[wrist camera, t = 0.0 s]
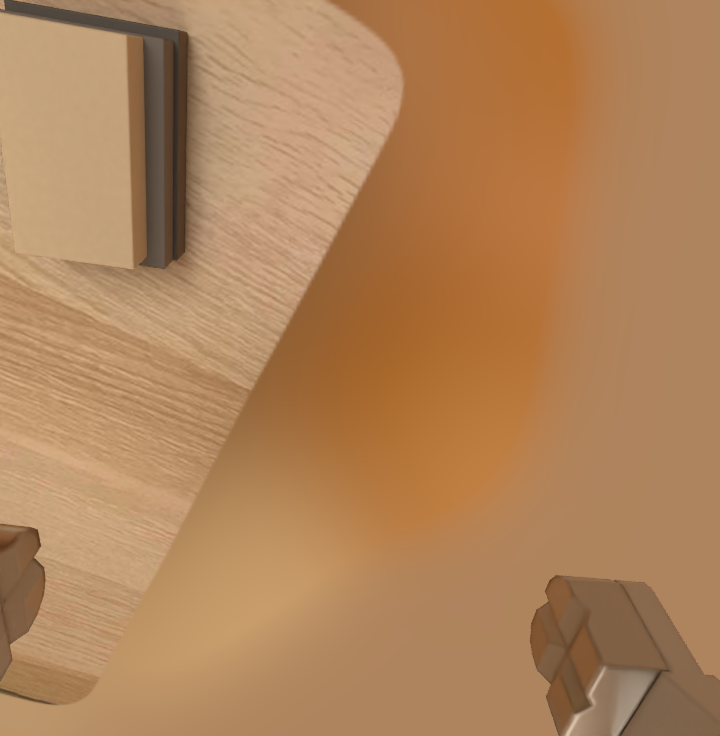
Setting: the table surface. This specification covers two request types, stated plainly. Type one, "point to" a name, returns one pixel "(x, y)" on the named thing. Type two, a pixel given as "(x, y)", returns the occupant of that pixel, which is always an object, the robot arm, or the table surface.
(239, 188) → the table surface
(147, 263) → the grey books
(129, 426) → the table surface
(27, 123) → the beige block
